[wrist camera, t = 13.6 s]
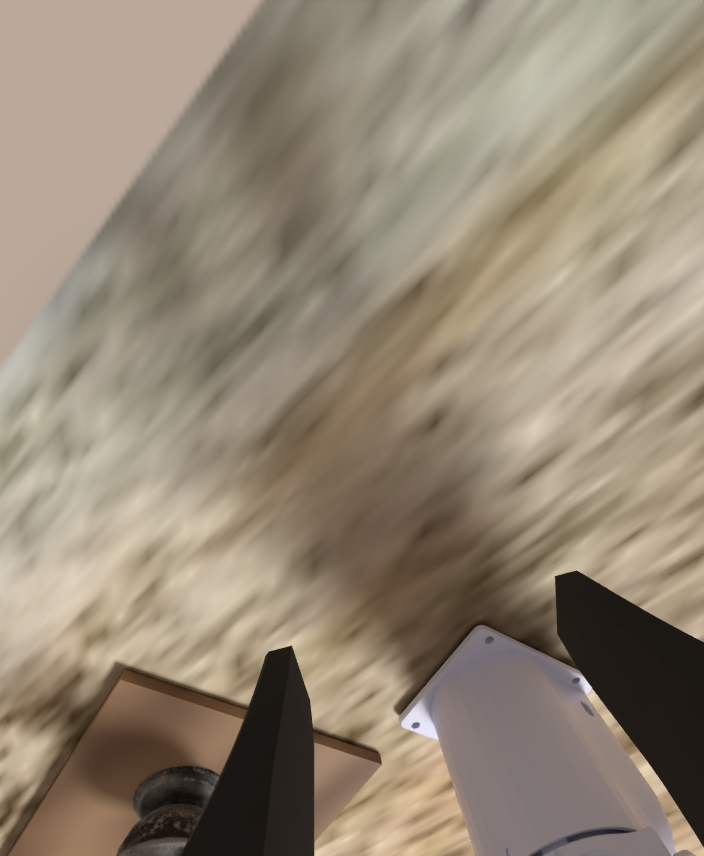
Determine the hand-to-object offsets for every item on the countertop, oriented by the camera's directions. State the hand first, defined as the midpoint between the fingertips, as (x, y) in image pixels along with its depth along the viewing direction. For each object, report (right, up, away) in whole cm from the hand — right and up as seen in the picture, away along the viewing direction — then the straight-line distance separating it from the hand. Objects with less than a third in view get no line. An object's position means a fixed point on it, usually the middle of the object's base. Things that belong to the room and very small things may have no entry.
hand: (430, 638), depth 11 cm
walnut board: (-11, -17, +14) cm, 25 cm away
